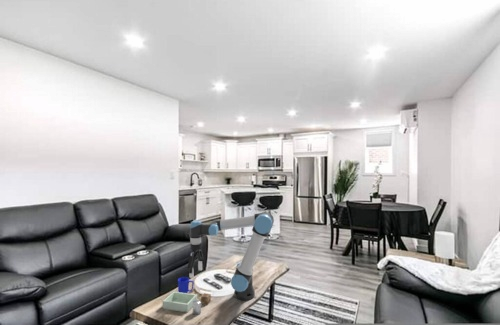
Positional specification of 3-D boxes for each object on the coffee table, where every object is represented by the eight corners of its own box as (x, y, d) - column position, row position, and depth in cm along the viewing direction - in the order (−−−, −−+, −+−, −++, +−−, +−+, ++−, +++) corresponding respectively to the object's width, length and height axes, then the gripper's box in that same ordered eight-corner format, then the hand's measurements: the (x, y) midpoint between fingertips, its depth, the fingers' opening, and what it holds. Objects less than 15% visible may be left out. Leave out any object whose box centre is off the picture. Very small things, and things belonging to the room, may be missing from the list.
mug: (190, 296, 188) (191, 282, 189) (175, 294, 191) (175, 280, 191) (195, 291, 196) (195, 277, 197) (180, 289, 199) (180, 276, 199)
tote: (197, 302, 180) (197, 294, 181) (187, 312, 167) (187, 304, 167) (173, 298, 185) (173, 291, 185) (162, 308, 171) (162, 301, 171)
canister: (202, 311, 168) (202, 300, 168) (198, 315, 163) (198, 304, 164) (195, 310, 169) (195, 299, 170) (191, 314, 165) (191, 303, 165)
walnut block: (210, 301, 182) (210, 294, 182) (207, 304, 177) (207, 297, 177) (203, 300, 183) (204, 293, 183) (200, 303, 178) (201, 296, 178)
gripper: (198, 238, 198) (198, 267, 197) (182, 247, 174) (182, 280, 173) (208, 239, 196) (208, 267, 195) (192, 248, 172) (192, 281, 171)
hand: (195, 273), depth 184 cm, fingers open, 13 cm apart
